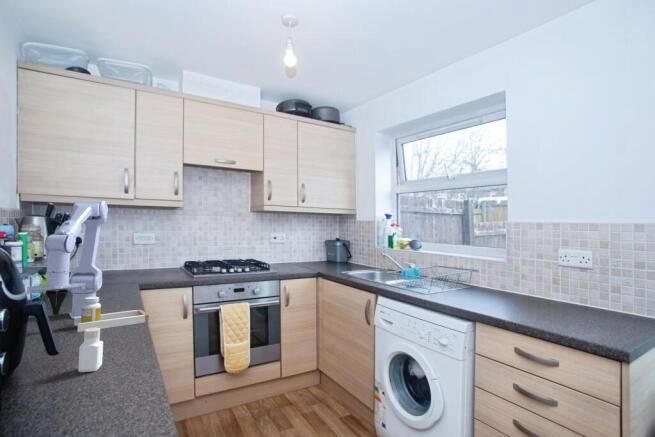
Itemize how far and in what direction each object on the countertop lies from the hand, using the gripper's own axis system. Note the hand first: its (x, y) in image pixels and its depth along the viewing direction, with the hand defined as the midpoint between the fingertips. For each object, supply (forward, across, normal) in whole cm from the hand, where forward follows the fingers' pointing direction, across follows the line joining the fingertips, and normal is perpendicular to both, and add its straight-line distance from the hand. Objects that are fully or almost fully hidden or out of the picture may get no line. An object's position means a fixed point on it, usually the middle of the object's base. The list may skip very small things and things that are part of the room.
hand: (55, 314), depth 109 cm
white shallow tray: (+6, +16, 0) cm, 17 cm away
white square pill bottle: (+6, +5, -41) cm, 42 cm away
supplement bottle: (+6, +10, 0) cm, 11 cm away
